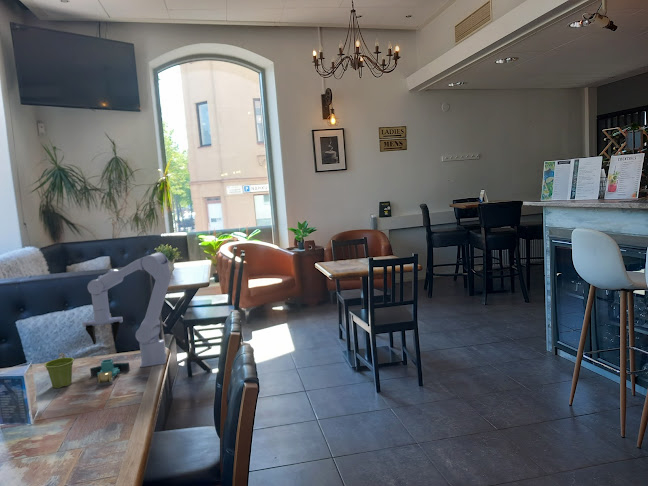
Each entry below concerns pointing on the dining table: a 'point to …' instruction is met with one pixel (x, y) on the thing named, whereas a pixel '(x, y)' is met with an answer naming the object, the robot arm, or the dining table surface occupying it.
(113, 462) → the dining table surface
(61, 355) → the soldier figure
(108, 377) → the carrier
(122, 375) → the dining table surface
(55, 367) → the plant pot
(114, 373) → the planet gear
